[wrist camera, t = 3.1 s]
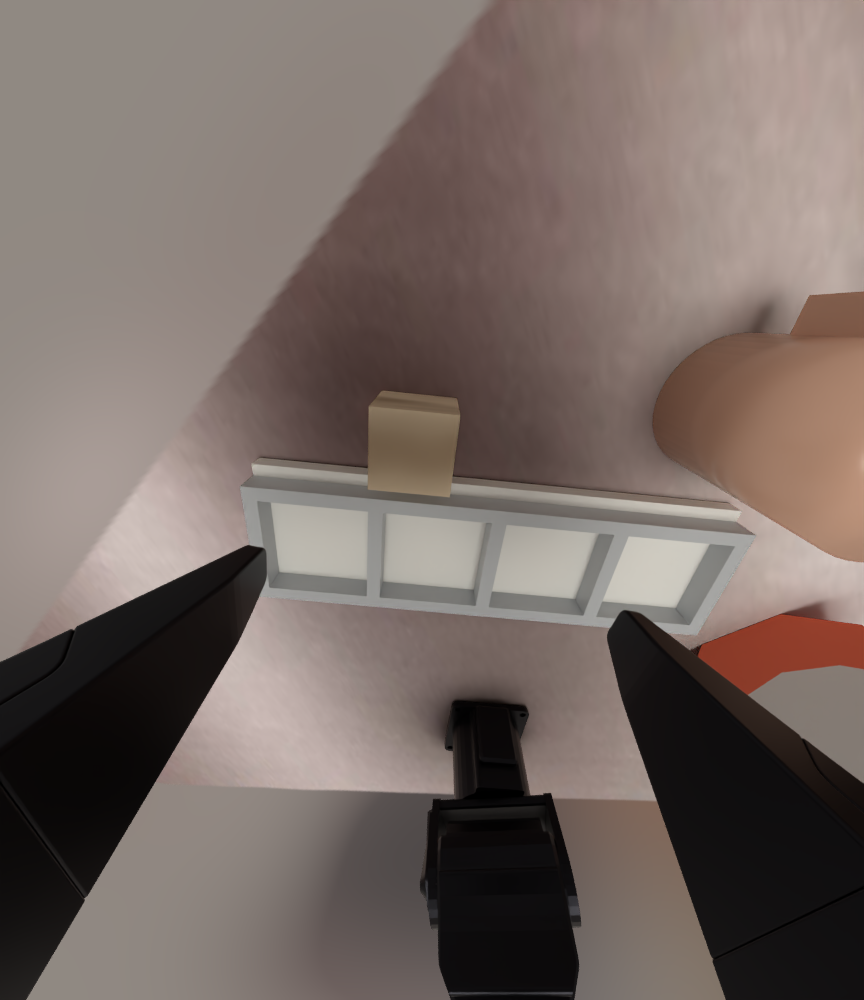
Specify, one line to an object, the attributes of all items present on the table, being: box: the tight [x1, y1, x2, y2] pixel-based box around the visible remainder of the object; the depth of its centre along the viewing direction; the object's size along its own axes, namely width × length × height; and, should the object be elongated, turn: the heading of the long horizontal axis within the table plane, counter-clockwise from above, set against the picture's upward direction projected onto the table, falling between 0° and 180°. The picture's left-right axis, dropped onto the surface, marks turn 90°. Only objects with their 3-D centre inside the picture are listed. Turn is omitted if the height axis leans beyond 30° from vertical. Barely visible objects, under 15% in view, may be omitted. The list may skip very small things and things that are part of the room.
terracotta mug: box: [653, 292, 864, 562], centre depth 14 cm, size 8×7×9 cm
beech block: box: [368, 391, 460, 497], centre depth 18 cm, size 4×4×4 cm
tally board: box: [240, 458, 756, 635], centre depth 22 cm, size 9×28×2 cm, turn 85°
